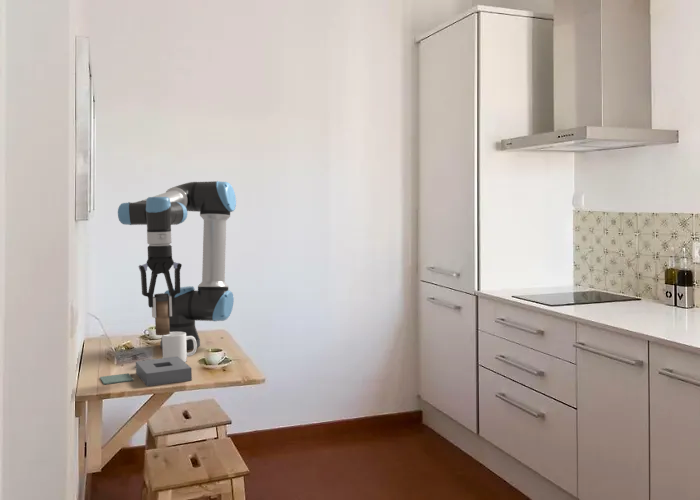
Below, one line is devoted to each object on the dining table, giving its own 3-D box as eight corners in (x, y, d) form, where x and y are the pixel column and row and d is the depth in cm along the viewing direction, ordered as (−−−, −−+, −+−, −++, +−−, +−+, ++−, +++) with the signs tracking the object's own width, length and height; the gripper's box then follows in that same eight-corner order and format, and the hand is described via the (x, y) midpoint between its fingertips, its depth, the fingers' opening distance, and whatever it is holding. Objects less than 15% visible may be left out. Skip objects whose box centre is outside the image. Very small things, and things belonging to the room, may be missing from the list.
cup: (161, 360, 245) (160, 332, 245) (195, 357, 250) (194, 329, 249) (164, 365, 238) (163, 337, 237) (199, 362, 242) (198, 334, 242)
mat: (100, 378, 222) (99, 376, 222) (128, 374, 227) (128, 373, 226) (104, 384, 214) (104, 383, 214) (133, 380, 219) (133, 379, 219)
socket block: (136, 373, 228) (135, 361, 228) (178, 367, 235) (177, 356, 234) (147, 386, 212) (146, 373, 212) (191, 380, 219) (191, 367, 218)
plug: (154, 333, 224) (153, 294, 222) (168, 331, 226) (166, 292, 224) (157, 335, 220) (155, 295, 218) (171, 334, 222) (169, 294, 221)
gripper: (133, 246, 213) (136, 320, 215) (189, 244, 221) (191, 315, 223) (129, 245, 219) (132, 317, 221) (183, 242, 227) (185, 312, 229)
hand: (162, 316), depth 222 cm, fingers closed on plug, 4 cm apart
